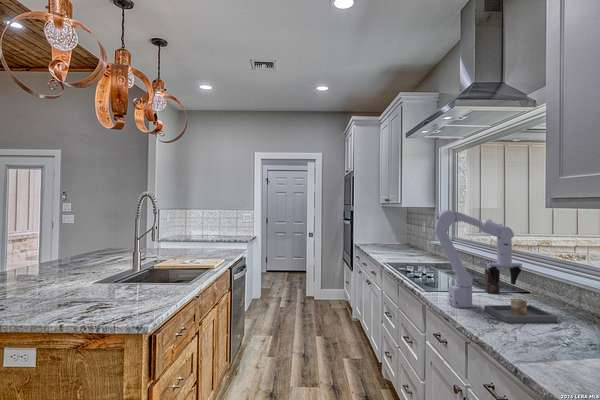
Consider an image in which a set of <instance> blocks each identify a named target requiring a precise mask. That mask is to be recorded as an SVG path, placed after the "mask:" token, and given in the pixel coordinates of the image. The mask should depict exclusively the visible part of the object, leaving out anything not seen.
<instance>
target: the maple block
mask: <svg viewBox="0 0 600 400" xmlns="http://www.w3.org/2000/svg"><path fill="white" fill-rule="evenodd" d="M527 303H528V302H527V300H525V299H522V298H510V305H511V313H512V314H514V315H516V316H527V305H528V304H527Z"/></svg>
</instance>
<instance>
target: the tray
mask: <svg viewBox="0 0 600 400" xmlns="http://www.w3.org/2000/svg"><path fill="white" fill-rule="evenodd" d="M484 312H485V313H487V314H489V315H491V316H493V317H494V318H496V319H498V320H499V321H501V322H503V323H506V324H546V323H547V324H548V323H549V324H552V323H553V324H555V323H556V324H557V323H558V316H557V315H555V314H553V313H551V312H548V311H545V310H543V309H541V308H539V307H535V306H534V305H532V304H527V316H516V315H514V314H512V313H511V304H505V305H504V304H492V305H491V304H490V305H489V304H484Z"/></svg>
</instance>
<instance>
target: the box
mask: <svg viewBox="0 0 600 400" xmlns="http://www.w3.org/2000/svg"><path fill="white" fill-rule="evenodd" d="M500 272H501V270H499V274H498V285H496V284H494V281H493V278H492V275H491V273H490V271H489V269H488V268H484V292H485V293H486V292H487V293H486V294H500V286H501V285H500V284H501V283H500V282H501V281H500V279H501V278H500V277H501V276H500V275H501V274H500Z"/></svg>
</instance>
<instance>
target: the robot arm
mask: <svg viewBox="0 0 600 400" xmlns="http://www.w3.org/2000/svg"><path fill="white" fill-rule="evenodd" d="M460 222H462V223H465V224H468V225H471V226H474V227H477V228H478V229H479V231H480V232H482V233H485V234H488V235H489V236H492V237H496V262H487V263H486V268H487V269H489V271H490V273H491V275H492V278H493V281H494V284H496V285H498V274H499V271H500V269H502V268H506V269H507V268H508V269H509V272H510V284H511V285H516V284H517V283H516V282H517V279H518V277H519V275H520V273H521V272H522V268H523V263H520V262H513V259H512V258H513V257H512V255H513V254H512V253H513V249H512V246H513V245H512V239H513V238H514V237H515V236H514V235H515V233H514V231H513V230H512V229H511V228H510V227H508V226H504V225H503V224H502V223H496V222H494V221H493V220H492V219H489V218H488V219H486V218H485V219H483V220H480V219H477V218H475V217H472V216H470V215H467V214H466V213H462V212H458V211H454V210H453V211H452V210H450V209H442V210H440V211H439V212H438V214H437V215H436V218H435V225H434V226H435V227H434V233H435V235H436V237H437V239H438V241H439V243H440V245H441V248H442V250H443V252H444V254H445V255H446V258H447V260H448V262H449V264H450V266H451V268H452V271H453V277H454V280H455V282H454V285H450V286H449V287H448V301H447V303H448V304H449V305H451V306H452V307H454V308H477V306H476V305H474V304H473V282H474V277H473V276H472V274H471V273H469V272H468V270H467V268H466V267H465V265H464V264H463V262H462V260H461V258H460V256H459V254H458V251H457V250H456V248H455V246H454V244H453V241H452V240H451V238H450V236H449V234H448V231H449V228H450V227H451V225H453V224H454V223H460ZM499 268H500V269H499Z"/></svg>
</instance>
